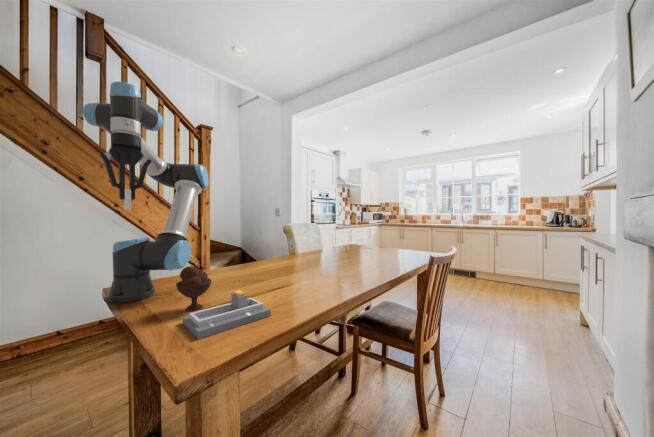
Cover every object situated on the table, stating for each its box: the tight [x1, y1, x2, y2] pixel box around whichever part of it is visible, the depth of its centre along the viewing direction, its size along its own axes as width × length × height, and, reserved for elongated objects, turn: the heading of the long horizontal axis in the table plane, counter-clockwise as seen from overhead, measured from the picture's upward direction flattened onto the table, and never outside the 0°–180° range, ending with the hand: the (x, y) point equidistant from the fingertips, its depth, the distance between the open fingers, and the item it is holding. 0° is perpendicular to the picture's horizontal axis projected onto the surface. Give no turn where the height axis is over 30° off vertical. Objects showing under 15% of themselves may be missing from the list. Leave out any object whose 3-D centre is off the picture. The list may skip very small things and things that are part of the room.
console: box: [182, 297, 272, 340], centre depth 79 cm, size 14×22×4 cm, turn 135°
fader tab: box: [230, 289, 248, 310], centre depth 82 cm, size 5×3×6 cm, turn 45°
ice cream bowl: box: [175, 265, 212, 313], centre depth 89 cm, size 11×11×15 cm
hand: (127, 210), depth 80 cm, fingers closed
